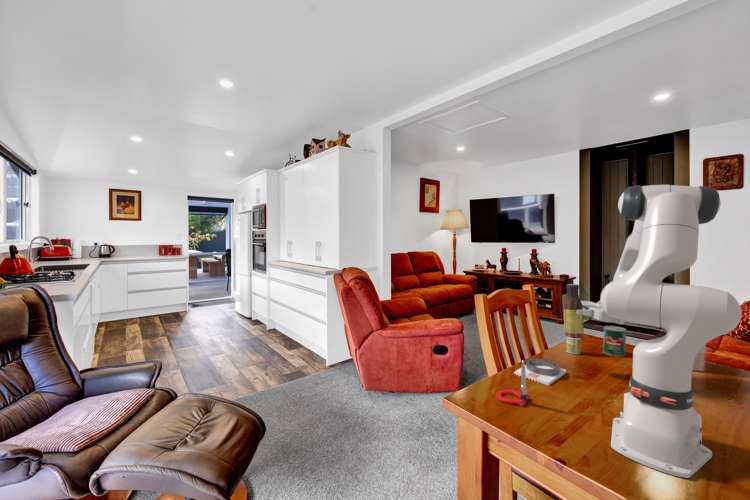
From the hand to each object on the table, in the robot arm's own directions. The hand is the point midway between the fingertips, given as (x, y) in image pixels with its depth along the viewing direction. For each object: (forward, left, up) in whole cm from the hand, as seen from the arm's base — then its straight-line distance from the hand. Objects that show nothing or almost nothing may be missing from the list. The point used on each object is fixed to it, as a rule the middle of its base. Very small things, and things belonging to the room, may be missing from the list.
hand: (570, 309), depth 125 cm
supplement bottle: (+21, +5, -23) cm, 31 cm away
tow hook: (-39, +3, -23) cm, 46 cm away
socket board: (-13, +5, -23) cm, 27 cm away
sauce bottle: (0, -1, -10) cm, 10 cm away
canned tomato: (+33, -7, -23) cm, 40 cm away
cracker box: (+39, -29, -23) cm, 53 cm away
